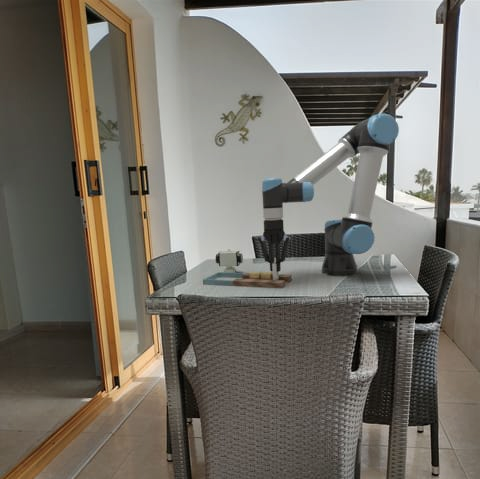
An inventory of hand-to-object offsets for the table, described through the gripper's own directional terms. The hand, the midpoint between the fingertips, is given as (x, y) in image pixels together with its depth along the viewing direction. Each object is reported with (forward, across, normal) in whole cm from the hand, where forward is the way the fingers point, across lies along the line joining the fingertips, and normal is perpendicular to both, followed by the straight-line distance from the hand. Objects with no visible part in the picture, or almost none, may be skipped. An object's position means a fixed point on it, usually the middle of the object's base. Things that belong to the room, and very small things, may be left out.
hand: (275, 279), depth 139 cm
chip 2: (+2, +4, 0) cm, 4 cm away
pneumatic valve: (+3, +26, -15) cm, 30 cm away
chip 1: (+2, +8, 0) cm, 8 cm away
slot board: (+3, +6, 0) cm, 6 cm away
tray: (+3, +22, 0) cm, 22 cm away
